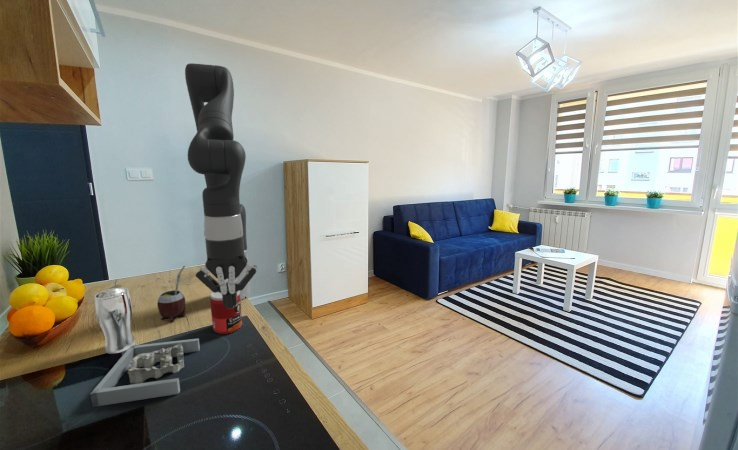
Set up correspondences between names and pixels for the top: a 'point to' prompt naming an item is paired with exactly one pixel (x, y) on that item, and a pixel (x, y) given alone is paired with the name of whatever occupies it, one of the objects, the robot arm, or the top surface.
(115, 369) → the grey u-shaped frame
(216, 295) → the canned food
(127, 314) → the beer glass
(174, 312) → the mate gourd
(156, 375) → the egg carton
